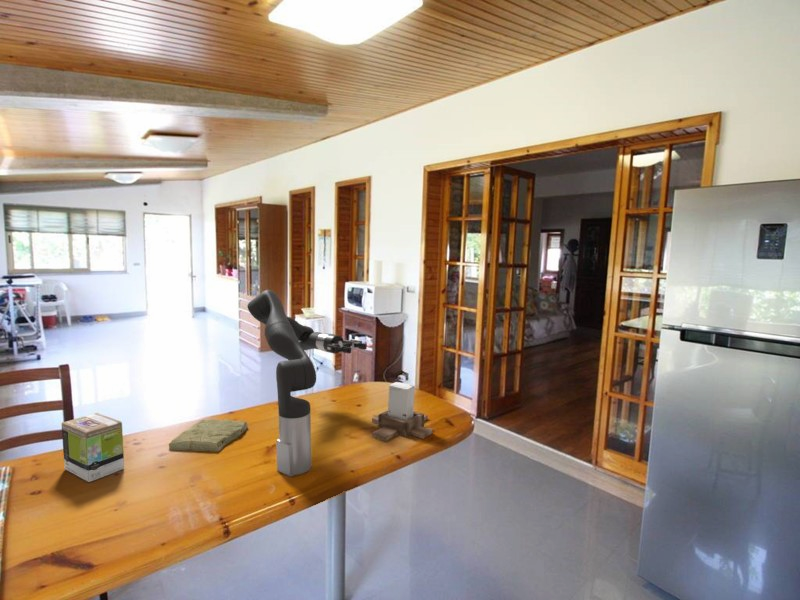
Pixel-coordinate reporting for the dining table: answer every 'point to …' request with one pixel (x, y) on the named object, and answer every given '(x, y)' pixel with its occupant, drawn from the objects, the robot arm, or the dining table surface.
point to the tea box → (93, 446)
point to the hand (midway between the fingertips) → (358, 348)
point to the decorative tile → (208, 435)
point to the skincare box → (401, 401)
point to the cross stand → (400, 426)
